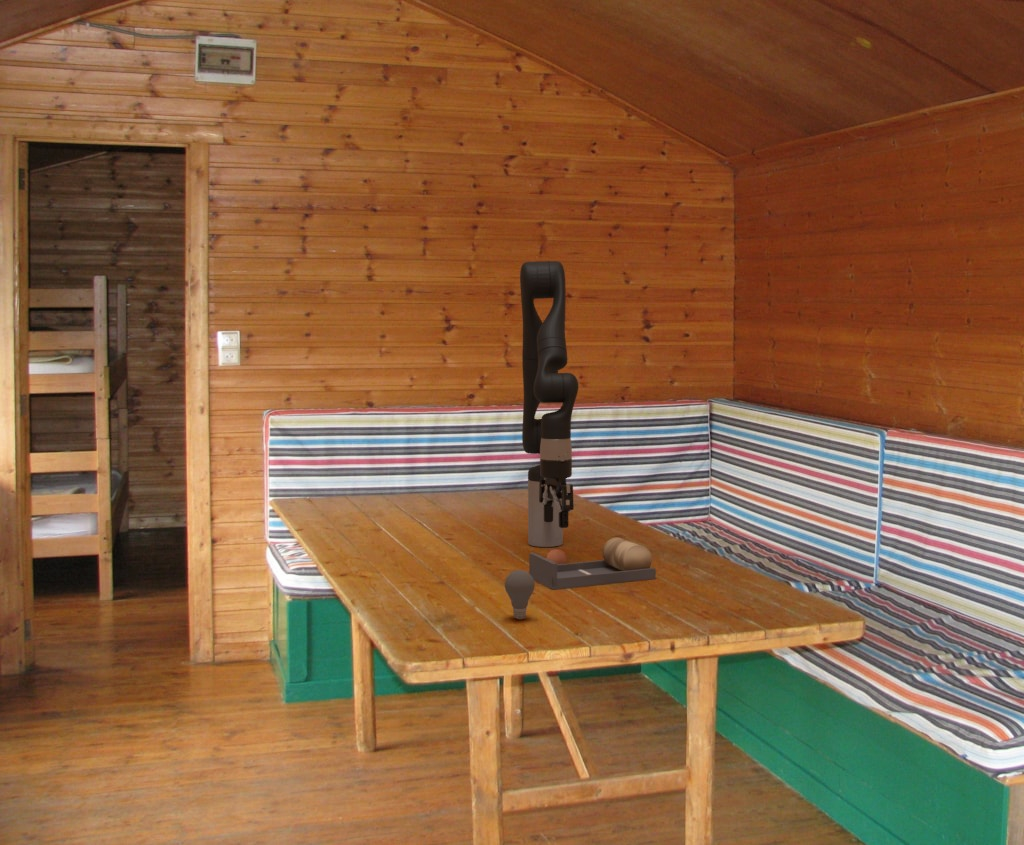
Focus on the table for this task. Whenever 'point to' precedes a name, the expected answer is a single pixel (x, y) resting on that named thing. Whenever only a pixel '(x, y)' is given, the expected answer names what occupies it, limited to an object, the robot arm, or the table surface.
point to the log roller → (626, 555)
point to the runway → (581, 573)
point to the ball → (557, 556)
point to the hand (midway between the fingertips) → (555, 524)
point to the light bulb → (519, 591)
